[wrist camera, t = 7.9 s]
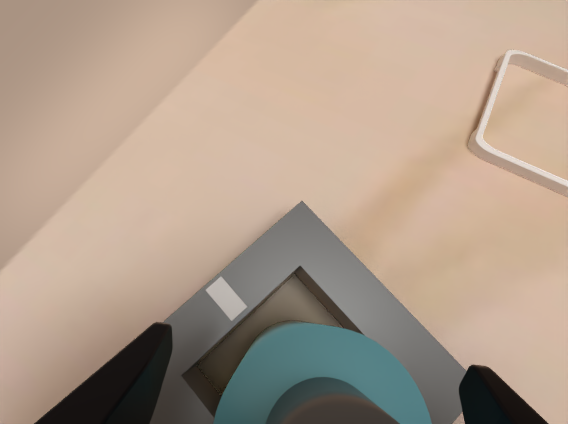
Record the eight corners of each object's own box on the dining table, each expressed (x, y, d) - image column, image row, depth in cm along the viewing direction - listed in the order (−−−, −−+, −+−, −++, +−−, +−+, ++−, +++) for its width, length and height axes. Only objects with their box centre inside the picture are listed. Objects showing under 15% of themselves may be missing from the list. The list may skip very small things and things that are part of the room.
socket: (285, 561, 15) (289, 630, 11) (133, 363, 16) (101, 374, 13) (445, 375, 17) (486, 388, 14) (296, 218, 19) (302, 198, 15)
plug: (299, 447, 16) (419, 943, 3) (224, 378, 16) (83, 575, 4) (357, 362, 17) (615, 494, 4) (284, 301, 17) (326, 263, 5)
